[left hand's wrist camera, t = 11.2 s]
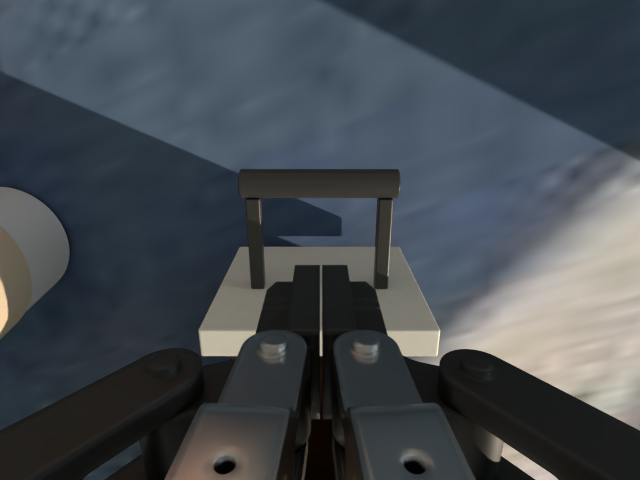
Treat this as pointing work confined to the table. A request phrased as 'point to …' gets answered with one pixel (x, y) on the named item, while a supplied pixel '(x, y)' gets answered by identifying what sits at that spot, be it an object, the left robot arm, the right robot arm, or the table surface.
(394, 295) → the drawer
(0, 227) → the coffee cup
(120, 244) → the table surface
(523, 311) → the table surface
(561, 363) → the table surface
